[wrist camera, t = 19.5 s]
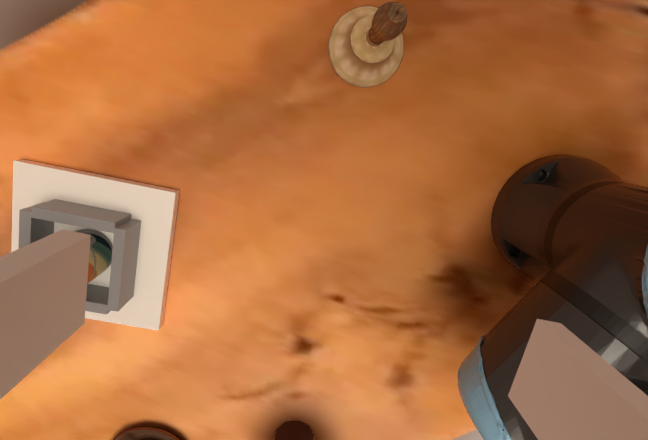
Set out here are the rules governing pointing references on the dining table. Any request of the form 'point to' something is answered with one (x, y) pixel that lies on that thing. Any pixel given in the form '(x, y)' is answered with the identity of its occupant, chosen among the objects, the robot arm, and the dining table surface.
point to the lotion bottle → (98, 253)
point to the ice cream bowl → (294, 431)
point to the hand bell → (368, 44)
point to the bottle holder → (113, 222)
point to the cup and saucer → (146, 434)
